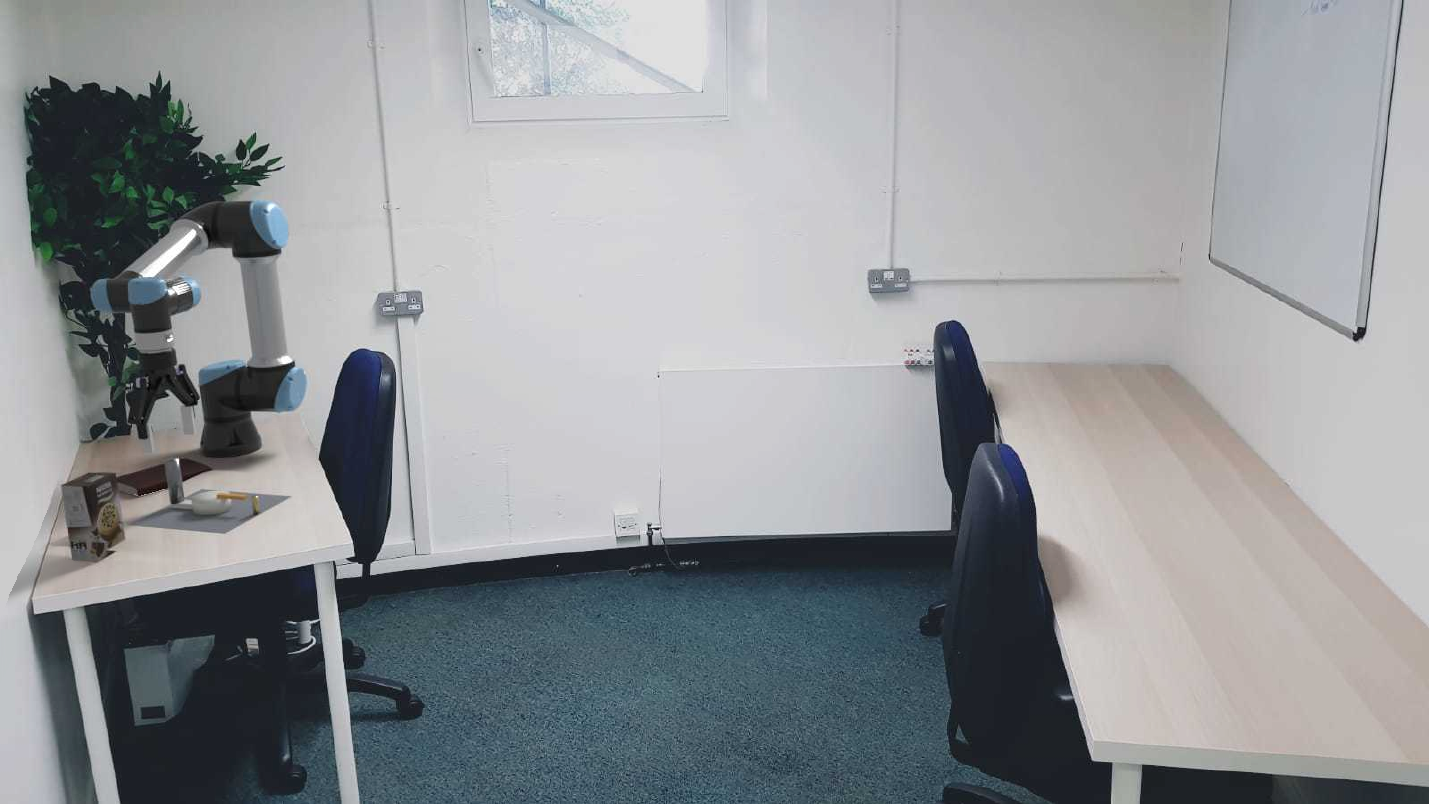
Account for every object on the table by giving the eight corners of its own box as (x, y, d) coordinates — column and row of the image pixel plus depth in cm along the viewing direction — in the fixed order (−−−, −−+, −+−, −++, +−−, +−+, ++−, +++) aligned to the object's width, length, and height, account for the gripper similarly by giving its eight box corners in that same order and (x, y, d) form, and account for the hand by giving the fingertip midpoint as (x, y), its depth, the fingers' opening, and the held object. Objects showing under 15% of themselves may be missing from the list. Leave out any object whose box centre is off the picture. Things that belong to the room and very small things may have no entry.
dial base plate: (202, 495, 282) (199, 472, 280) (292, 502, 275) (290, 479, 274) (129, 531, 259) (125, 507, 258) (225, 540, 253) (222, 515, 252)
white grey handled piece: (258, 506, 268) (253, 459, 265) (236, 518, 261) (230, 470, 258) (184, 499, 273) (178, 453, 270) (160, 511, 266) (153, 464, 263)
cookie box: (99, 562, 242) (87, 486, 238) (71, 560, 243) (58, 485, 239) (128, 545, 251) (117, 471, 247) (100, 544, 252) (88, 470, 248)
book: (213, 477, 296) (212, 465, 295) (138, 499, 281) (136, 486, 280) (184, 469, 303) (183, 457, 302) (110, 490, 288) (108, 477, 287)
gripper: (129, 363, 247) (145, 461, 253) (208, 337, 271) (220, 427, 276) (99, 362, 249) (115, 459, 255) (180, 336, 272) (192, 426, 278)
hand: (170, 443), depth 266 cm, fingers open, 13 cm apart
